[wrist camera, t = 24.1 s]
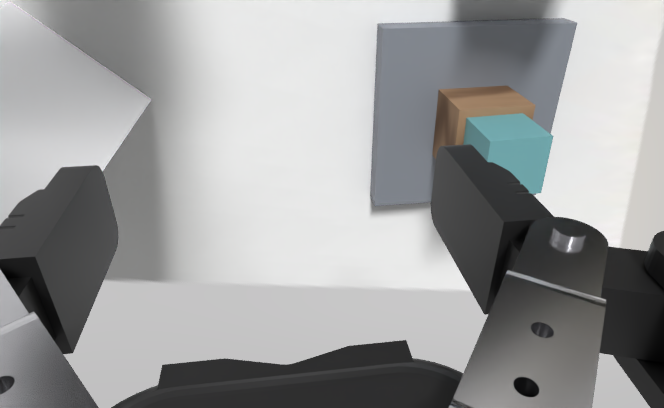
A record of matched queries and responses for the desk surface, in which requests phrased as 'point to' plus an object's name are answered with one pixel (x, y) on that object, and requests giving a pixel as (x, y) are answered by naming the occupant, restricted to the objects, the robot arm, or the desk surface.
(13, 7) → the milk
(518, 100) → the walnut block
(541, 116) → the slate gray board
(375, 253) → the desk surface
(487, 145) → the teal block
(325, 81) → the desk surface
